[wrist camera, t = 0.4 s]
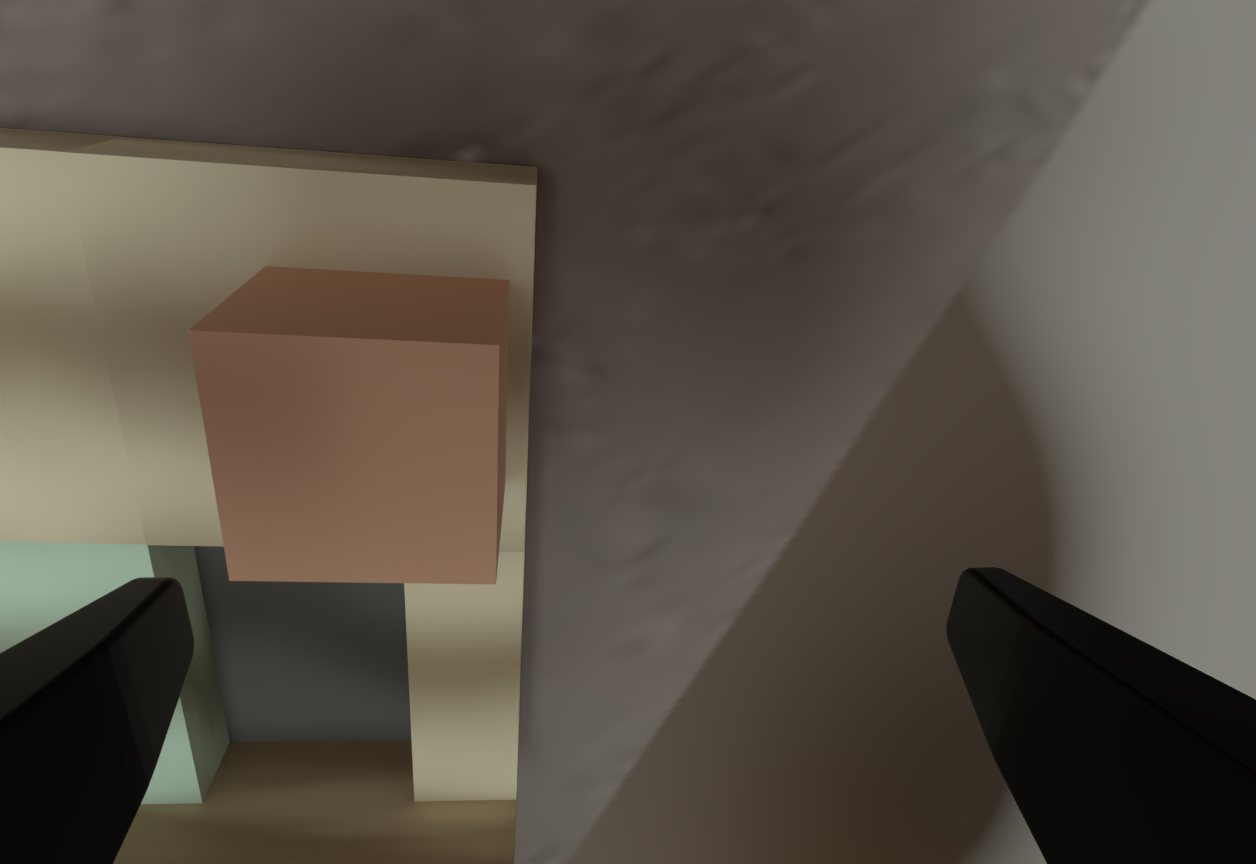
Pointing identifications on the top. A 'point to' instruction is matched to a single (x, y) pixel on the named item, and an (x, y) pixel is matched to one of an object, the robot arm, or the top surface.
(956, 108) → the top surface
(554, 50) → the top surface
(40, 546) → the tray
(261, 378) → the block
